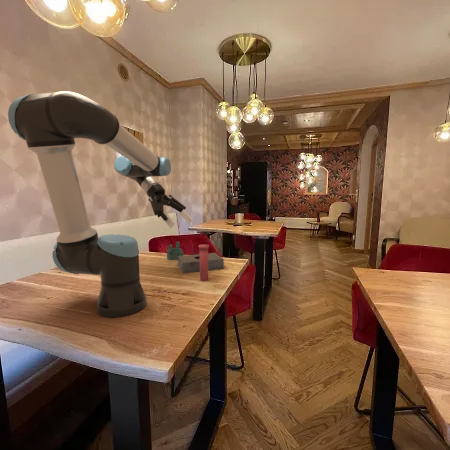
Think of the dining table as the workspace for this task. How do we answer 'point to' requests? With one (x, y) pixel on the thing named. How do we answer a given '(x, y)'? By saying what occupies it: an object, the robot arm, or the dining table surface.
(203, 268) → the pin
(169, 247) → the green knobbed block
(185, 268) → the socket block
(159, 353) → the dining table surface
